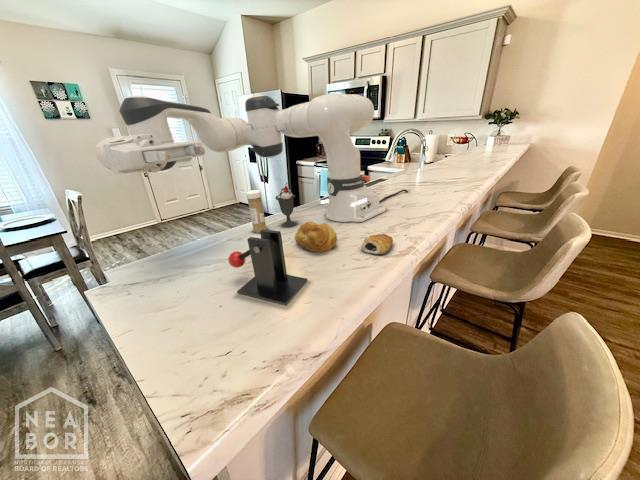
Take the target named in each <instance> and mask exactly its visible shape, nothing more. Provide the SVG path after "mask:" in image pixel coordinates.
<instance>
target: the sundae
mask: <svg viewBox="0 0 640 480" xmlns="http://www.w3.org/2000/svg"><path fill="white" fill-rule="evenodd" d="M287 185H288V182H286V181H285V186H284V187H283V188H281V189H280V193H279V194H278V195H276V196H275V200H276V201H278V204H279V208H280V211H281V213H282V214H283V215H284V216H285V217H286V221H285V222H283V223H282V224H281V226H282V227H284V228H292V227H295V226H296V225H297V223H296V222H295V221H292V220H291V215H292V213H293V212H294V200H295V198H296V195H295V194H294V193H292V192H291V189H290V188H289V187H288V186H287Z"/></svg>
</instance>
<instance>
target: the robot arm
mask: <svg viewBox="0 0 640 480" xmlns="http://www.w3.org/2000/svg"><path fill="white" fill-rule="evenodd" d="M244 106H245V112H246V116H247V121H246V120H245V119H243V118H238V117H217V116H216V115H214V114H213V113H212V112H211V111H210V110H209V109H208V108H205V107H201V106H197V105H192V104H186V103H179V102H173V101H167V100H162V99H158V98H153V97H149V96H147V95H146V96H145V95H132V96H128V97H125V98H123V101H122V102H121V104H120V107H119V111H118V112H119V114H120V116H121V118H122V120H123V122H124V124H125V125H126V127H127V129H128V132H129V135H116V136H111V137H107V138H104V139H102V140H100V141H98V142H97V143H96V146H95V147H94V148H95V149H94V151H95V152H94V153H95V156H96V159H97V160H98V162H99V163H100V164H101V165H102V166H103V167H105V168H106V169H109V170H110V171H111V170H112V171H113V173H114V174H117V175H118V174H119V175H120V174H121V175H122V174H129V173H130V174H131V173H141V174H142V173H145V174H146V173H147V174H148V173H158V172H162V171H167V170H169V169H172V168H173V167H174V166H175V164H177V162H178V161H180V160H181V161H182V160H187V159H192V158H198V157H202V156H205V154H206V148H207V149H209V150H211V151H212V152H215V153H228V152H231V151H235V150H238V149H240V148H243V147H245V146H251V147H252V148H250V151H252V152H254V153H255V154H256V155H257V156H259V157H261V158H265V159H274V158H276V157H277V156H279V155H281V154H282V153H283V149H284V145H283V144H284V143H283V142H282V135H284V136H287V137H291V138H310V137H318V138H319V140H320V142H321V144H322V146H323V149H324V153H325V156H326V166H327V167H326V168H327V177H326V185H327V186H326V187H327V193H328V198H327V199H324V200H320V204H326V203H327V207H326V208H327V209H326V213H325V217H326V218H327V219H328V220H330V221H332V222H341V223H344V222H346V223H347V222H353V223H354V222H355V223H363V222H365V221H367V220H369V219H371V218H374V217H376V216H378V215H380V214H382V213H385V212H386V211H387V210H386V209H387V208H386V207H385V206H384V205H382V204H381V203H382V202H383V201H385V200H386V199H389V198H391V197H393V196H397V195H399V194H401V193H403V192H405V193H409V191H408V190H407V189H401V190H399V191H397V192H395V193H392V194H389V195H386V196H385V197H383V198H382V199H381V200H380V198H379V195H378V194H377V193H376V190H375V191H374V190H372V189H371V188H369V187H368V186H367V185H365V182H367V183H368V182H370V181H371V177H370V175H366V174H365V175H362V174H361V153H360V152H361V151H360V150H359V148H357V146H355V145H354V143H353V140H352V136H351V133H354V132H359V131H361V130H363V129H365V128H367V127H369V126H370V125H371V124H372V122H373V120H374V116H375V107H374V104H373V102H372V100H371V99H370V98H368V97H366V96H363V95H360V94H356V93H352V94H351V93H348V94H347V93H325V94H323V95H319V96H316V97H314V98H312V99H311V100H310V101H306V102H301V103H298V104H295V105H291V106H289V107H288V108H287V107H286V108H284V109H279V108H278V107H280V104H279V103H277V102H276V101H275V100H274V99H273V98H272V97H271V96H268V95H265V94H258V93H257V94H254V95H251V96H250V97H249V98H247V99H246V101H245V105H244ZM169 118H170V119H179V120H184V121H187V123H189V125H190V126H191V127H192V128H193V130H194V131H195V132H196V134H197V136H198V138H199V139H200V140H190V141H178V142H175V140H174V138H173V135H172V131H171V129H170V126H169V123H168V119H169ZM205 147H206V148H205Z"/></svg>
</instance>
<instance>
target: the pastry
mask: <svg viewBox="0 0 640 480" xmlns="http://www.w3.org/2000/svg"><path fill="white" fill-rule="evenodd" d="M393 243H394V240H393V237H392V236H391V235H388V234H385V233H381V234H380V233H379V234H371V235H369V236H368V237H365V239H364V240H363V242H362V243H361V245H360V248H361V250H362V252H364V253H367V254H373V255H383V254H386V253H387V252H389V251H390V249H391V248H392V246H393Z"/></svg>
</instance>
